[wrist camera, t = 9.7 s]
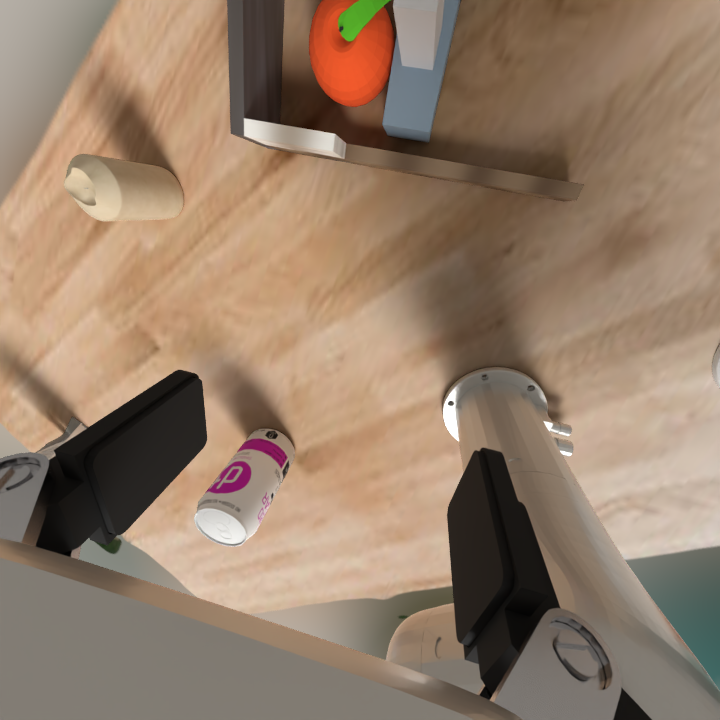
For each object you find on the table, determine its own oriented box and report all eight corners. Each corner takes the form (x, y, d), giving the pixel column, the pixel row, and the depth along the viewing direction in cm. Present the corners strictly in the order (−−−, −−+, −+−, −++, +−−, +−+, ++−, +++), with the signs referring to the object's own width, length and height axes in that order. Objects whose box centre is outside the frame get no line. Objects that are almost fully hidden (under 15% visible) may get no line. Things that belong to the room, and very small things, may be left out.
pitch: (663, -36, 22) (756, -131, 16) (563, 201, 29) (600, 198, 23) (273, -78, 25) (222, -173, 19) (268, 148, 32) (230, 133, 26)
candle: (146, 215, 38) (61, 216, 29) (138, 162, 35) (41, 146, 26) (187, 222, 37) (113, 226, 28) (181, 170, 34) (98, 156, 26)
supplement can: (243, 426, 50) (178, 504, 37) (288, 424, 48) (237, 505, 35) (259, 464, 54) (205, 547, 40) (302, 463, 51) (260, 551, 38)
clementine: (384, -19, 25) (370, -95, 19) (422, 72, 27) (422, 30, 21) (309, 56, 28) (275, 12, 22) (348, 133, 30) (329, 113, 24)
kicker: (462, -8, 24) (493, -181, 14) (429, 142, 29) (431, 102, 18) (413, -15, 25) (404, -188, 14) (387, 135, 29) (366, 92, 19)
